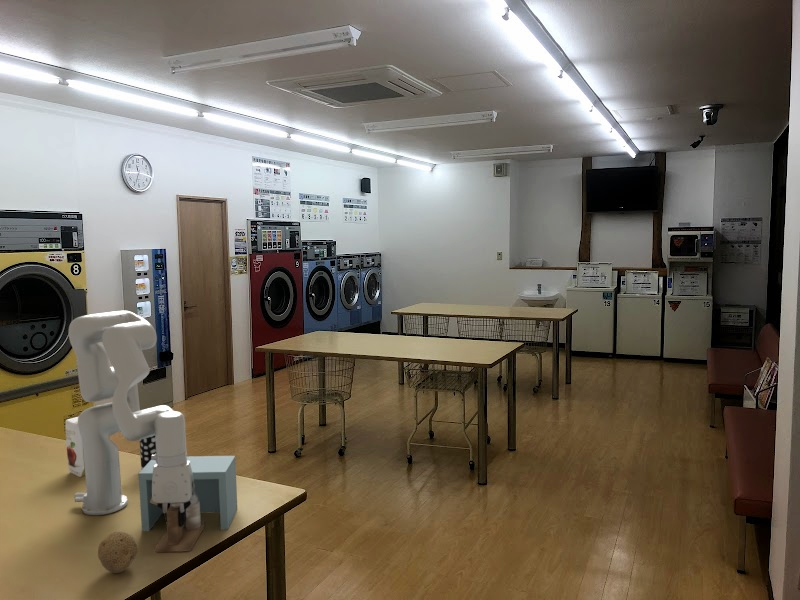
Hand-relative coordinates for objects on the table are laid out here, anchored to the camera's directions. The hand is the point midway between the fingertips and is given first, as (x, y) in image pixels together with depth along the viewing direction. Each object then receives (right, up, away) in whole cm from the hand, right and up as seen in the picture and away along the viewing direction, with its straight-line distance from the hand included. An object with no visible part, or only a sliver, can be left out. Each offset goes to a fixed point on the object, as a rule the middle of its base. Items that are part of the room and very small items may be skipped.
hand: (176, 524), depth 168 cm
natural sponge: (-10, -8, -11) cm, 17 cm away
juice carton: (-50, 0, +50) cm, 71 cm away
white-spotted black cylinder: (-26, 0, +52) cm, 58 cm away
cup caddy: (0, -5, +4) cm, 7 cm away
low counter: (-1, -4, +15) cm, 15 cm away
